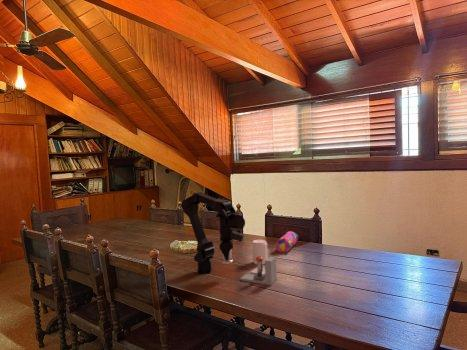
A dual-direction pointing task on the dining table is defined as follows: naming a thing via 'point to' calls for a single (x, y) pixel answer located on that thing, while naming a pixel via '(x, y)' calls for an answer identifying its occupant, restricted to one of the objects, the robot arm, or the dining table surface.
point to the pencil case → (286, 242)
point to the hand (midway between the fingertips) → (227, 258)
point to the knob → (228, 259)
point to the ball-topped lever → (259, 269)
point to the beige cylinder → (259, 250)
